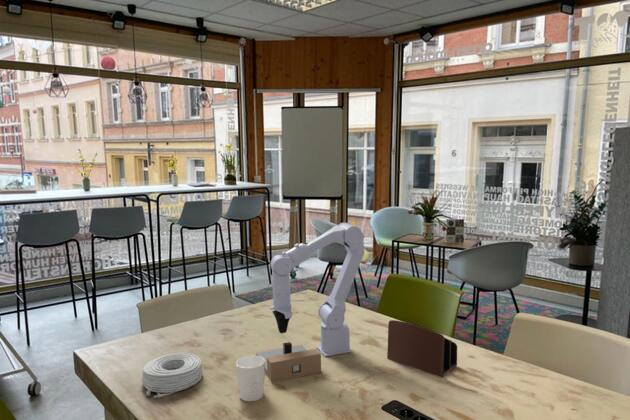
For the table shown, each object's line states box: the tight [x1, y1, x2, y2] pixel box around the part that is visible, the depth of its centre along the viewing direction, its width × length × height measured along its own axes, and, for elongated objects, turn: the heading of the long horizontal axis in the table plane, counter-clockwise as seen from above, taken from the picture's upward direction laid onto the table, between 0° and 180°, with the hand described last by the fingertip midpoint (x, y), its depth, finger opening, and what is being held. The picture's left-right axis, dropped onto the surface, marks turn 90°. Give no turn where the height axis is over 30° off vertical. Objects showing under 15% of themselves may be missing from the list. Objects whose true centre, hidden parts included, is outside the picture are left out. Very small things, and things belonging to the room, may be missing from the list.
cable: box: [141, 351, 204, 399], centre depth 135 cm, size 18×18×6 cm
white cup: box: [235, 354, 266, 402], centre depth 126 cm, size 8×8×10 cm
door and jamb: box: [255, 344, 322, 383], centre depth 144 cm, size 18×16×6 cm
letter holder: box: [386, 319, 458, 379], centre depth 144 cm, size 10×20×14 cm, turn 47°
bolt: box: [282, 341, 299, 372], centre depth 141 cm, size 10×2×5 cm, turn 21°
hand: (282, 332), depth 148 cm, fingers closed
